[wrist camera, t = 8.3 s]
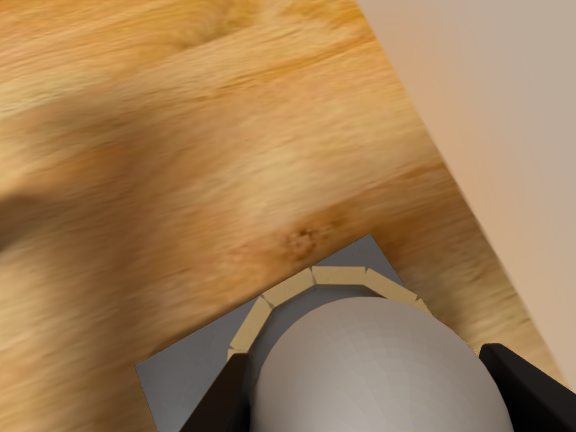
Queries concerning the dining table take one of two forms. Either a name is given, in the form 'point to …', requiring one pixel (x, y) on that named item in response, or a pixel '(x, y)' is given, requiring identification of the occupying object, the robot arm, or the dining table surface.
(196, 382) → the plate
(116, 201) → the dining table surface
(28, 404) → the dining table surface
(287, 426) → the light bulb
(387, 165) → the dining table surface
